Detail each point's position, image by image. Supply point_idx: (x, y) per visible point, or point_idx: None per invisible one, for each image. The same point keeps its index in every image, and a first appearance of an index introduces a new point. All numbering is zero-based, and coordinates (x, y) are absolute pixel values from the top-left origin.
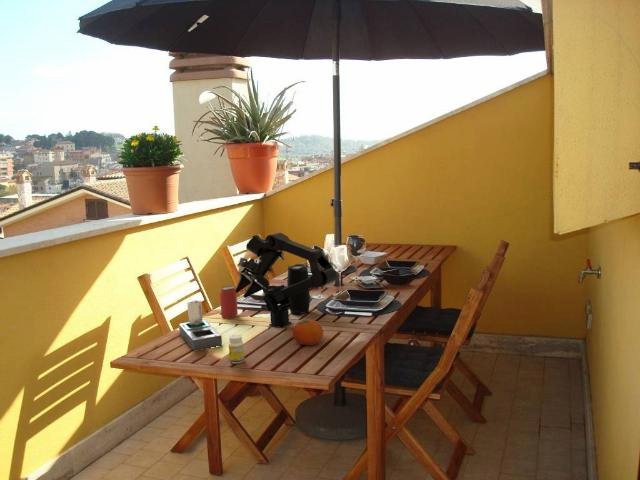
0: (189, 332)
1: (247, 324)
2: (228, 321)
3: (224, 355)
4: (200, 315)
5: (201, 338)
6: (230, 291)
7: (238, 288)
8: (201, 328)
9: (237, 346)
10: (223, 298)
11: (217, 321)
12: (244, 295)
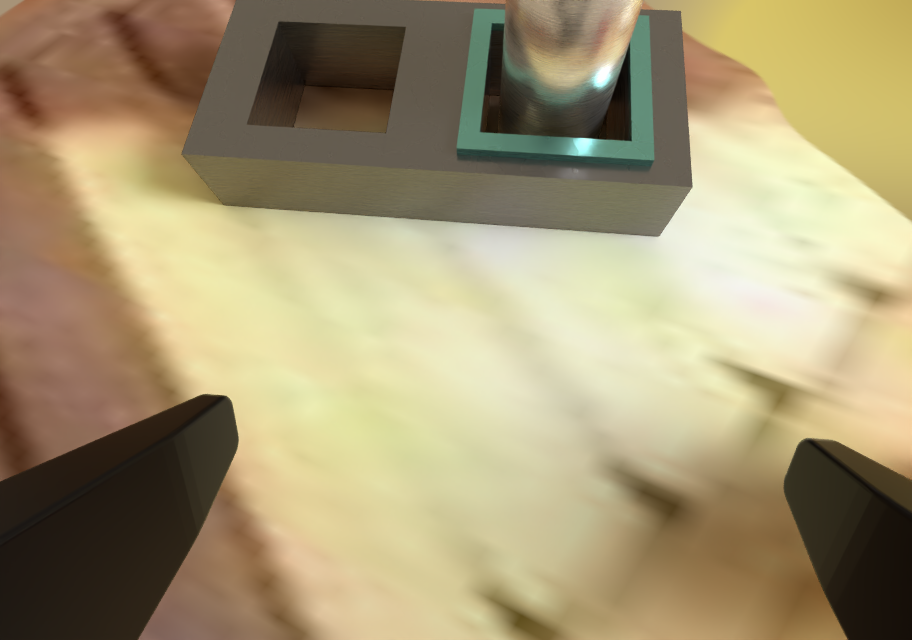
0: (415, 13)
1: (611, 598)
2: None
3: (67, 162)
4: (516, 27)
5: (228, 36)
6: None
7: (871, 541)
8: (452, 96)
9: None
10: None
11: (857, 391)
12: (175, 411)
